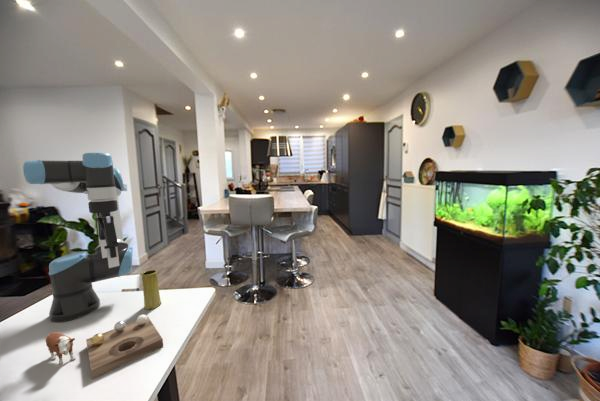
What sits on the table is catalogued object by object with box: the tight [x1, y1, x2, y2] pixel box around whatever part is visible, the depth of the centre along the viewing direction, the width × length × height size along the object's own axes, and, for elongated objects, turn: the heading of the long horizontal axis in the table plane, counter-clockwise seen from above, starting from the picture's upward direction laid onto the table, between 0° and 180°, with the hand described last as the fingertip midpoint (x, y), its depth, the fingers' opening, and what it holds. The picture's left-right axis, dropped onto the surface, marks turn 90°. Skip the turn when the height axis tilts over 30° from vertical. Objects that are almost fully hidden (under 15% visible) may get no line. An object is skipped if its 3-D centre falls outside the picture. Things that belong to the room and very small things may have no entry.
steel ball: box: [113, 320, 126, 332], centre depth 81 cm, size 3×3×3 cm
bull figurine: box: [45, 331, 76, 366], centre depth 72 cm, size 4×13×8 cm, turn 58°
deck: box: [85, 316, 164, 380], centre depth 77 cm, size 18×17×2 cm
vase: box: [141, 269, 162, 310], centre depth 101 cm, size 6×6×14 cm
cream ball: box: [135, 314, 148, 325], centre depth 84 cm, size 3×3×3 cm
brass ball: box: [91, 333, 104, 346], centre depth 75 cm, size 3×3×3 cm
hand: (110, 261), depth 84 cm, fingers open, 13 cm apart
